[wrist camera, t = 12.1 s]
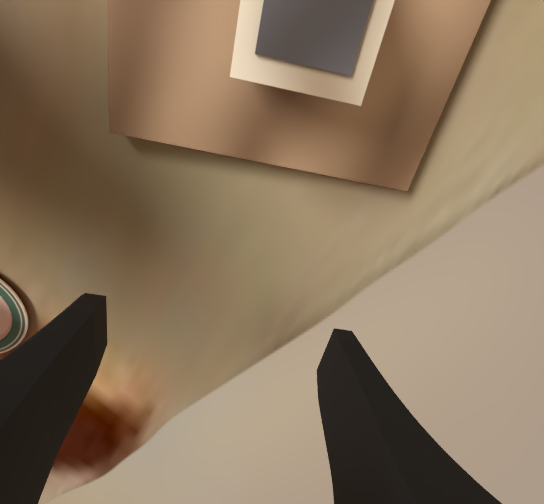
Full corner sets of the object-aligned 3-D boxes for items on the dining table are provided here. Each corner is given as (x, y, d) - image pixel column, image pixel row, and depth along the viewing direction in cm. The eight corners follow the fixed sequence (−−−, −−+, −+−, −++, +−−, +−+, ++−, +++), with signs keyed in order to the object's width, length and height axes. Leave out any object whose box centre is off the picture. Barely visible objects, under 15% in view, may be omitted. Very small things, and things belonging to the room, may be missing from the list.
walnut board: (118, 124, 18) (109, 132, 17) (117, -277, 11) (103, -305, 10) (399, 181, 20) (407, 191, 19) (533, -136, 13) (555, -148, 12)
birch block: (238, 56, 15) (229, 77, 11) (259, -90, 13) (259, -137, 9) (334, 78, 16) (362, 107, 11) (371, -58, 13) (424, -87, 9)
